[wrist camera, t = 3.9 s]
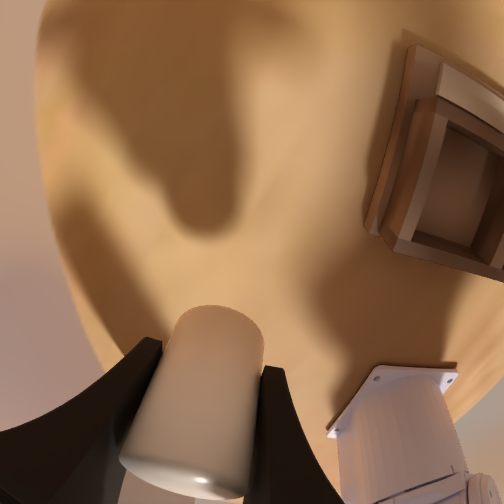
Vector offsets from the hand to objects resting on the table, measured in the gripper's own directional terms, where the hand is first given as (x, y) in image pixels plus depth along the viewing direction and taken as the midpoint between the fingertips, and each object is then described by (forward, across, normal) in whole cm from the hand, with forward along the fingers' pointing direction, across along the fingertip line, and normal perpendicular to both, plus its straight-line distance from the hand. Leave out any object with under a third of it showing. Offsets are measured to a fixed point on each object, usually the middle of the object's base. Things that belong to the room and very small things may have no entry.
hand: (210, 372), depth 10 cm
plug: (+2, 0, 0) cm, 2 cm away
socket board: (+6, -12, -9) cm, 16 cm away
